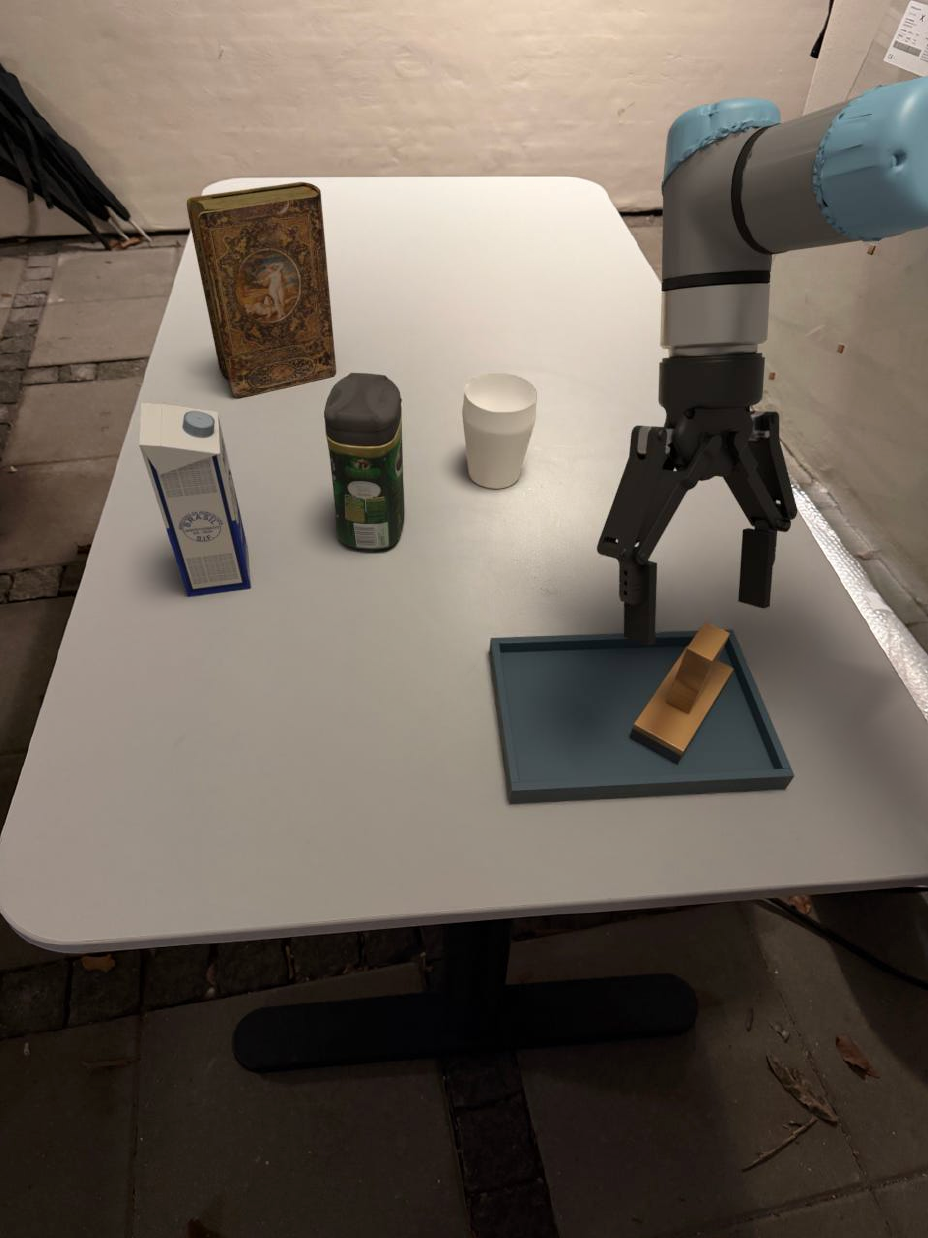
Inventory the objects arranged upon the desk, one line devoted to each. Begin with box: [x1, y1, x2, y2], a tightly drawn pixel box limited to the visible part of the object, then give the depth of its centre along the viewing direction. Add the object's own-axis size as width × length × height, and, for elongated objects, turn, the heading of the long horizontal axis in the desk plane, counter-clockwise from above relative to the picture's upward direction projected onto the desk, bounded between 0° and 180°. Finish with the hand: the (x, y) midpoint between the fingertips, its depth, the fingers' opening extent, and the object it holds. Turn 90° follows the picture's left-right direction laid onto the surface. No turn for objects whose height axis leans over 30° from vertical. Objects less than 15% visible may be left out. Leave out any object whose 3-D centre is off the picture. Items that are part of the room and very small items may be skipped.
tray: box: [488, 628, 795, 805], centre depth 75 cm, size 18×26×2 cm
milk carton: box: [138, 402, 252, 598], centre depth 79 cm, size 7×7×20 cm
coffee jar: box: [323, 372, 406, 551], centre depth 86 cm, size 10×8×19 cm
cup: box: [461, 372, 538, 490], centre depth 97 cm, size 9×9×12 cm
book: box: [186, 181, 337, 398], centre depth 105 cm, size 16×6×25 cm, turn 118°
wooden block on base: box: [630, 621, 734, 764], centre depth 72 cm, size 5×12×10 cm, turn 145°
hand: (699, 621), depth 64 cm, fingers open, 13 cm apart
